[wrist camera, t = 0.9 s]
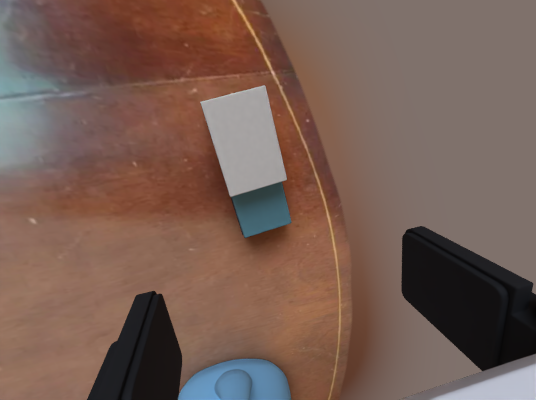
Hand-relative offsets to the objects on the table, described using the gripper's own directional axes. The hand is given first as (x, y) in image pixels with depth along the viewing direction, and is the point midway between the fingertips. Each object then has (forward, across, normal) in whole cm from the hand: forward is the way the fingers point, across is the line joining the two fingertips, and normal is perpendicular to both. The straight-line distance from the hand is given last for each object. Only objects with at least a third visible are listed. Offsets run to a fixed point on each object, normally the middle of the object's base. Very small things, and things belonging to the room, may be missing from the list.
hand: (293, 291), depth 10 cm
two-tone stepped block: (+16, -1, -2) cm, 16 cm away
